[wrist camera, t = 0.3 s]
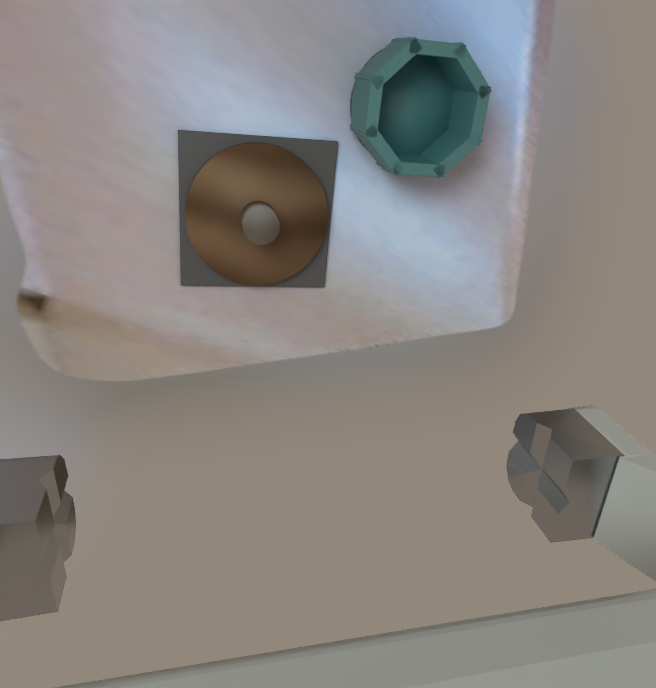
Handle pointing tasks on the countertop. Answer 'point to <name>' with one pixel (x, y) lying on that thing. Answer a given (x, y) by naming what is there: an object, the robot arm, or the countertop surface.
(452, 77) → the bowl
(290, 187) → the lid
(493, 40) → the countertop surface
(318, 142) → the mat
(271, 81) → the countertop surface
